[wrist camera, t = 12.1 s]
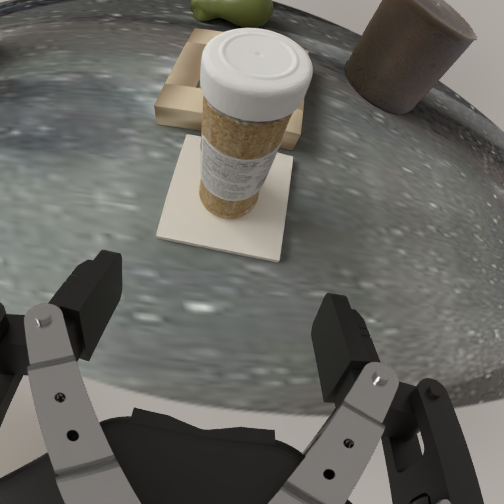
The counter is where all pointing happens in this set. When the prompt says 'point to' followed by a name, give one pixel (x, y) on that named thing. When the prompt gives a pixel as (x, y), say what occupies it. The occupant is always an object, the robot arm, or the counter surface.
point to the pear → (234, 11)
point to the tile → (220, 229)
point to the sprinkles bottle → (246, 113)
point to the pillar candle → (406, 52)
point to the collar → (190, 94)
